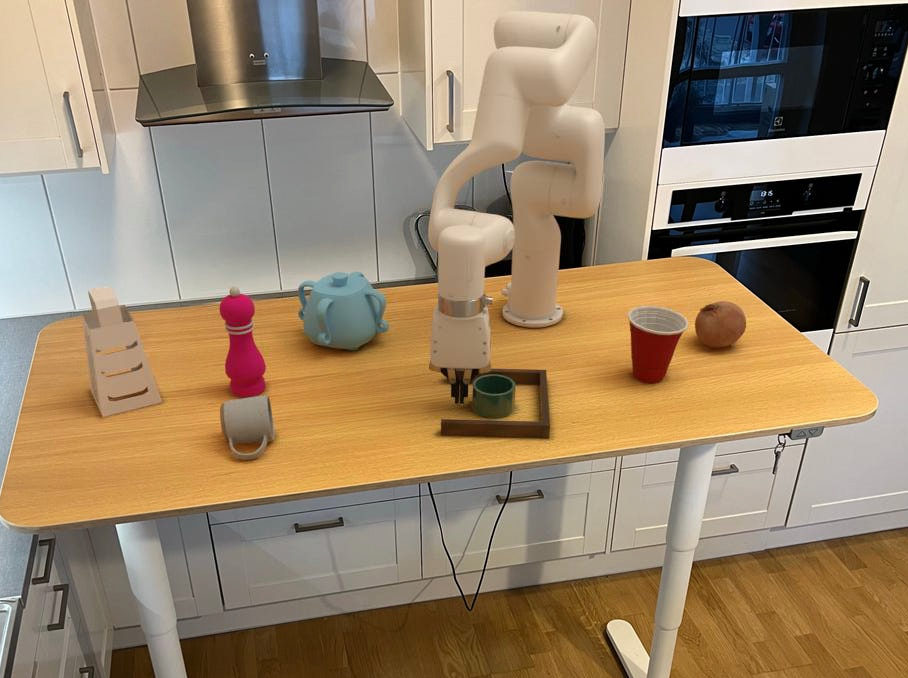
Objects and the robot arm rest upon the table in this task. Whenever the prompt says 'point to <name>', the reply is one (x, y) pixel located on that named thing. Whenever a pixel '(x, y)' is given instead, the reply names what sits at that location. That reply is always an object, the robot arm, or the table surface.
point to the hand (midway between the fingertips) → (459, 400)
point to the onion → (720, 324)
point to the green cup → (493, 396)
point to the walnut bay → (506, 427)
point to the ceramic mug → (247, 423)
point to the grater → (116, 355)
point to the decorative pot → (342, 311)
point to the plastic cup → (654, 340)
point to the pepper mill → (242, 346)
